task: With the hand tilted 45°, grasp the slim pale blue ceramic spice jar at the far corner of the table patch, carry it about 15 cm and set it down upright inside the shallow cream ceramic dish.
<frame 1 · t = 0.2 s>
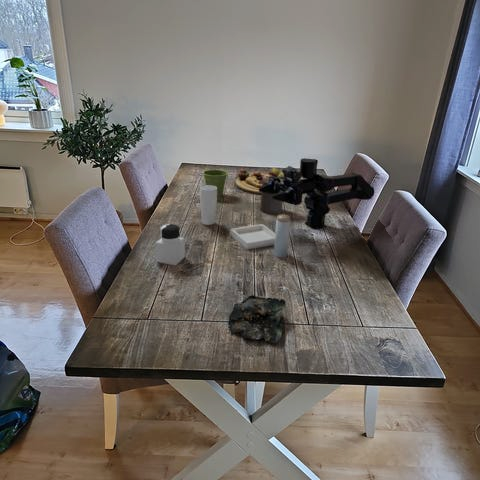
hand: (265, 193, 156), 17 cm above the table, tool horizontal, fingers open, 9 cm apart
decorative rock: (256, 324, 111), on the table
cream dish: (254, 239, 159), on the table
pillar candle: (271, 210, 189), on the table
plant pot: (215, 195, 205), on the table
wooden plate with food: (265, 187, 222), on the table
drinking glass: (208, 223, 172), on the table
spice jar: (280, 254, 148), on the table
medicine bottle: (170, 260, 141), on the table
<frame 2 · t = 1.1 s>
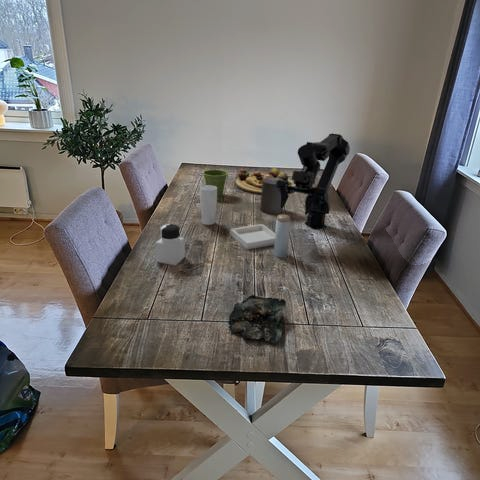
hand: (293, 211, 148), 14 cm above the table, tool tilted 45°, fingers open, 9 cm apart
nothing on the table moved.
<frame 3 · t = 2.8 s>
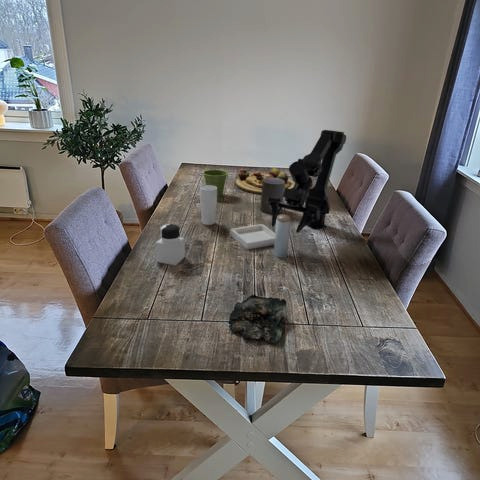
hand: (284, 229, 145), 9 cm above the table, tool tilted 45°, fingers open, 9 cm apart
nothing on the table moved.
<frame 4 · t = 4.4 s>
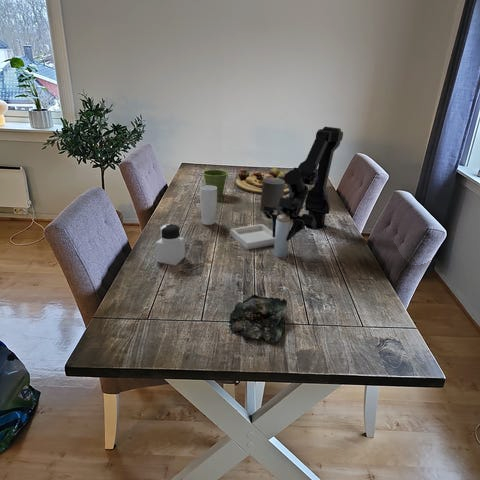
hand: (280, 238, 144), 7 cm above the table, tool tilted 45°, fingers closed on spice jar, 5 cm apart
spice jar: (280, 254, 148), on the table, touching gripper
everything else where it was.
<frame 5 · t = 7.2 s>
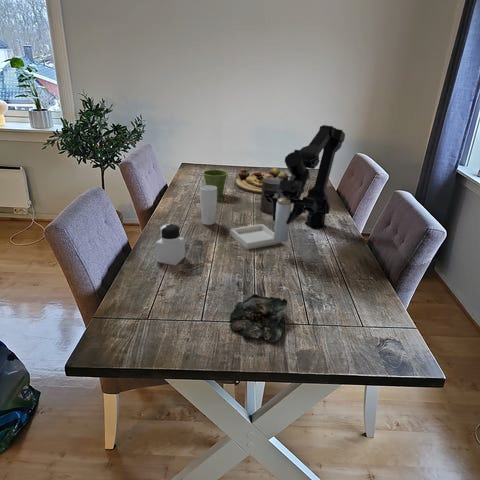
hand: (280, 222, 142), 12 cm above the table, tool tilted 45°, fingers closed on spice jar, 5 cm apart
spice jar: (280, 238, 145), point 6 cm above the table, touching gripper
when the fingers open (8 cm above the table, at t = 10.2 s): spice jar stays where it is, resting on cream dish.
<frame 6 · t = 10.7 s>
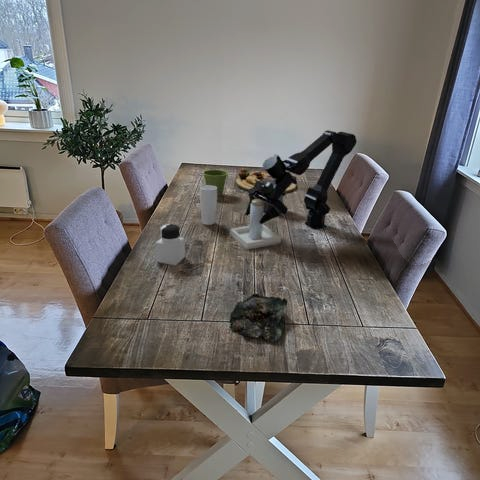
hand: (252, 219, 155), 8 cm above the table, tool tilted 45°, fingers open, 9 cm apart
spice jar: (255, 237, 159), point 1 cm above the table, touching cream dish
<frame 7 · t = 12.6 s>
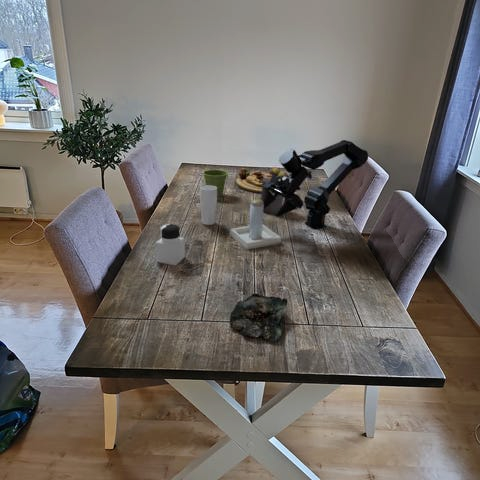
hand: (268, 212, 158), 10 cm above the table, tool tilted 45°, fingers open, 9 cm apart
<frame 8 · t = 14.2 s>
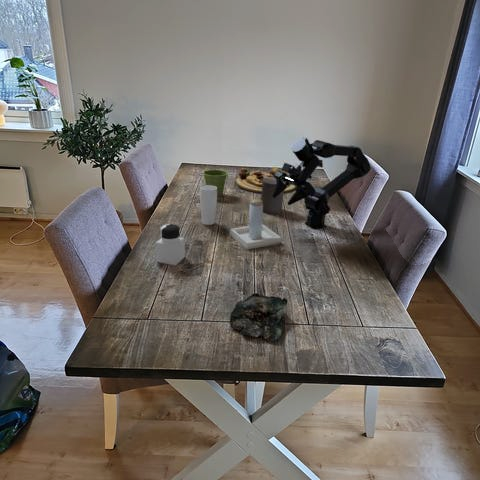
hand: (280, 200, 158), 14 cm above the table, tool tilted 45°, fingers open, 9 cm apart
at the end: spice jar inside the target area on the cream dish (0.0 cm from its centre), point 0.8 cm above the cream dish's base; spice jar tilted 1°; the gripper is holding nothing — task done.
